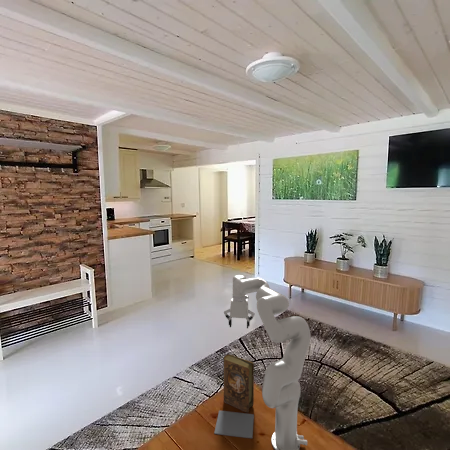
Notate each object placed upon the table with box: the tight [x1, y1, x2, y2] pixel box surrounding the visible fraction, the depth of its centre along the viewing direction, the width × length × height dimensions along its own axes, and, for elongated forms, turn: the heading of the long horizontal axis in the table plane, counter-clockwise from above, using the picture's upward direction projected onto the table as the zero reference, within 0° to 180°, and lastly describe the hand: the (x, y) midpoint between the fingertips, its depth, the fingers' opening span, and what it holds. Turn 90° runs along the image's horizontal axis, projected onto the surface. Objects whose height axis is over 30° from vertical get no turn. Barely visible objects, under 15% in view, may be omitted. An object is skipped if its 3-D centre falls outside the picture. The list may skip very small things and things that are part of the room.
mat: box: [213, 409, 255, 439], centre depth 138 cm, size 18×14×1 cm
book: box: [223, 353, 255, 414], centre depth 150 cm, size 16×6×25 cm, turn 58°
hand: (239, 326), depth 158 cm, fingers open, 9 cm apart
